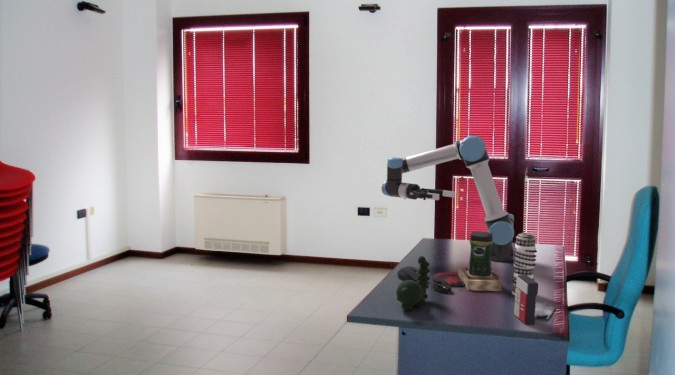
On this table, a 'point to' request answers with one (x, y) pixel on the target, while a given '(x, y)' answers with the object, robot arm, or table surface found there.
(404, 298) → the toy figurine
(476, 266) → the coffee jar
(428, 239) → the table surface
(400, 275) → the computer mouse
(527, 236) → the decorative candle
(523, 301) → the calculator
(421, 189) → the robot arm
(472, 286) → the light brown wooden box
